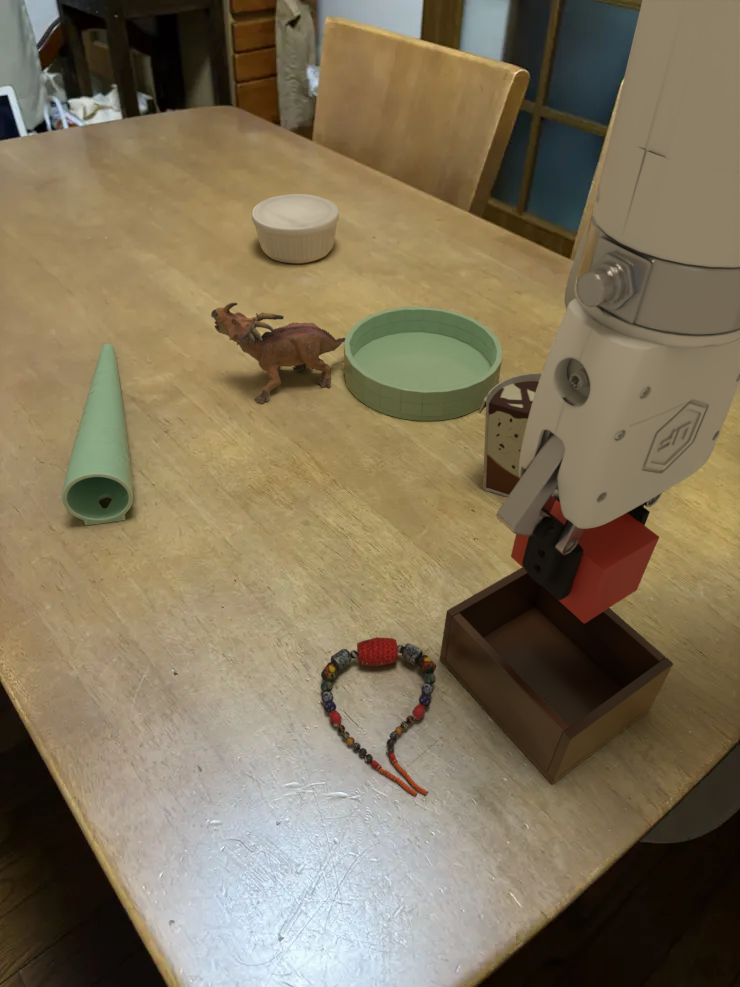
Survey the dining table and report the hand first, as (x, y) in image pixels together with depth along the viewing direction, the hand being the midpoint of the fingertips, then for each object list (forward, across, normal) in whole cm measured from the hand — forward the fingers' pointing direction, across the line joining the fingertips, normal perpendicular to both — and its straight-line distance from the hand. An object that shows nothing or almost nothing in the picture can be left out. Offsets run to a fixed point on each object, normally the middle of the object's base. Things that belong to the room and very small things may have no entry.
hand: (576, 561), depth 43 cm
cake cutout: (+13, +15, +15) cm, 25 cm away
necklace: (+13, -10, +4) cm, 17 cm away
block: (+1, 0, 0) cm, 1 cm away
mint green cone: (+13, -14, +44) cm, 48 cm away
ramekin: (+13, +21, +67) cm, 71 cm away
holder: (+13, 0, 0) cm, 13 cm away
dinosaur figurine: (+13, +4, +41) cm, 43 cm away
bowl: (+13, +16, +34) cm, 40 cm away
